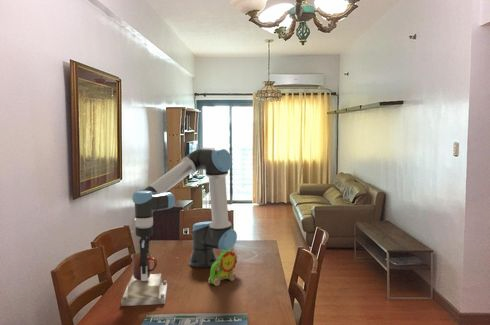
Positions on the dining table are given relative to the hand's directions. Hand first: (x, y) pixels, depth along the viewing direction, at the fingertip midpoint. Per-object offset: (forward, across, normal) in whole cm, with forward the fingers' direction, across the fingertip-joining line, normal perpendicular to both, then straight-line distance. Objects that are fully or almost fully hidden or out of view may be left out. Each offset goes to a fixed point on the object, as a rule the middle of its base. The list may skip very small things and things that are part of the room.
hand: (145, 277), depth 186 cm
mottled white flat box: (+9, 0, 0) cm, 9 cm away
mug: (0, +1, 0) cm, 1 cm away
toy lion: (+9, -14, +36) cm, 40 cm away
